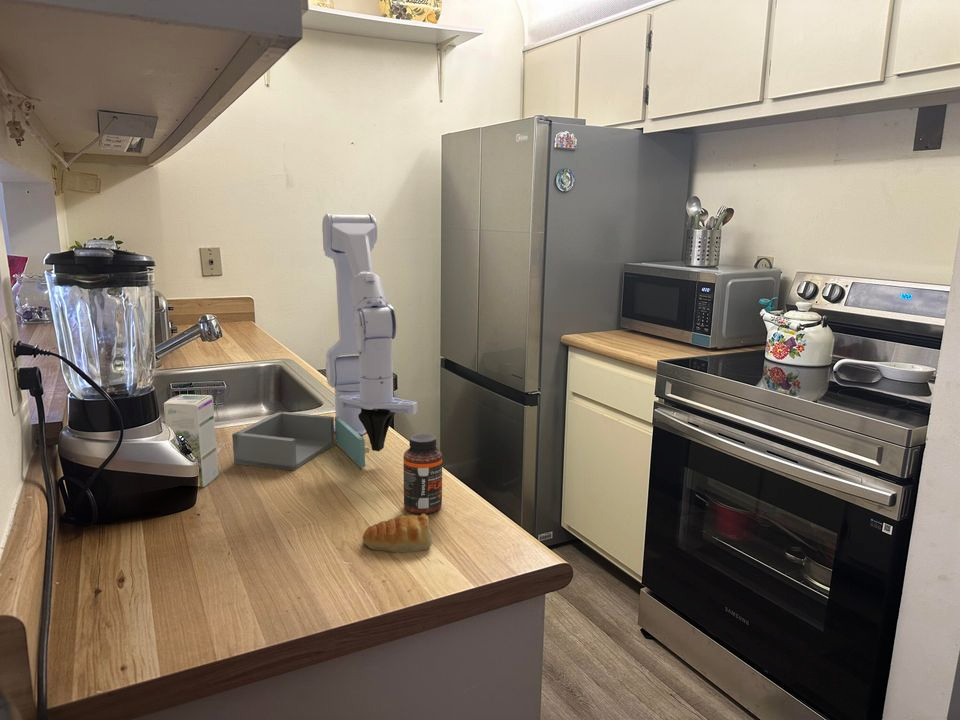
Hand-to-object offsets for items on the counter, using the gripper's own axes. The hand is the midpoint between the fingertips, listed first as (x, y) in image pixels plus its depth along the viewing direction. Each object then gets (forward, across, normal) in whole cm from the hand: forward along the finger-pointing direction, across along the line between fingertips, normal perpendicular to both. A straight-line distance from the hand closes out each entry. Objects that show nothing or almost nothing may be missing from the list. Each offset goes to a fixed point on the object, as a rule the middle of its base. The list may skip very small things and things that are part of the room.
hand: (377, 449), depth 121 cm
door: (+3, -7, +3) cm, 8 cm away
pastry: (+3, +16, -26) cm, 31 cm away
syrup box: (+3, -26, -16) cm, 31 cm away
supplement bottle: (+3, +14, -14) cm, 21 cm away
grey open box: (+3, -19, 0) cm, 19 cm away
